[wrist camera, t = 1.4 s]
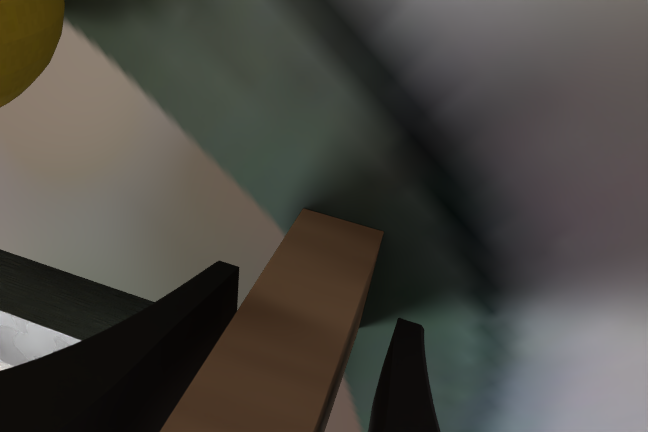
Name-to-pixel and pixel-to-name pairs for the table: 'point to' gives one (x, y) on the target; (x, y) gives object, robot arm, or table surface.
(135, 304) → the square steel tile
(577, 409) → the table surface
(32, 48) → the lemon
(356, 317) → the brown wooden block
